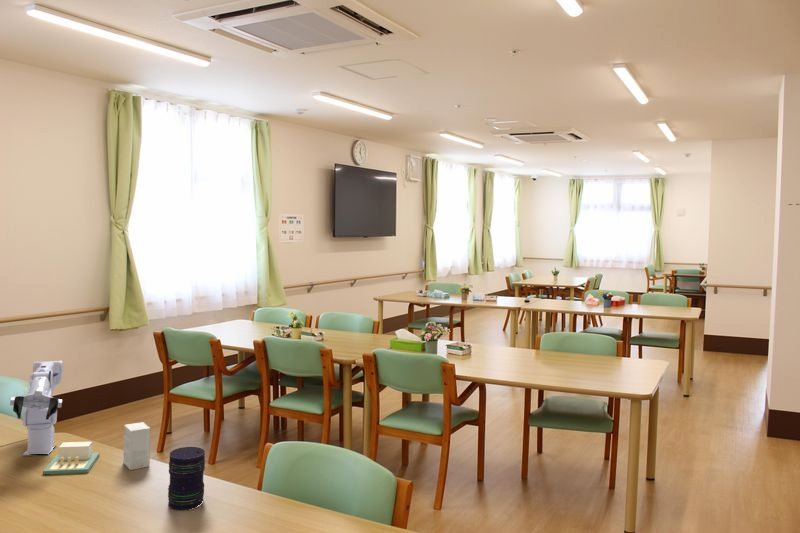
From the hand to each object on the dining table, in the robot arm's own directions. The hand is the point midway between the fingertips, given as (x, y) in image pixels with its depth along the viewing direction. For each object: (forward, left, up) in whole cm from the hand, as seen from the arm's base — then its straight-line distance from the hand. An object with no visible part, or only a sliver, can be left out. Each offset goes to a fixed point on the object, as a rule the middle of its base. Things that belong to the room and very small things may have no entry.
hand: (33, 416), depth 191 cm
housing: (-9, +10, -17) cm, 22 cm away
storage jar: (+28, +49, -19) cm, 59 cm away
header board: (-6, +10, -18) cm, 22 cm away
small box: (-4, +30, -19) cm, 35 cm away
